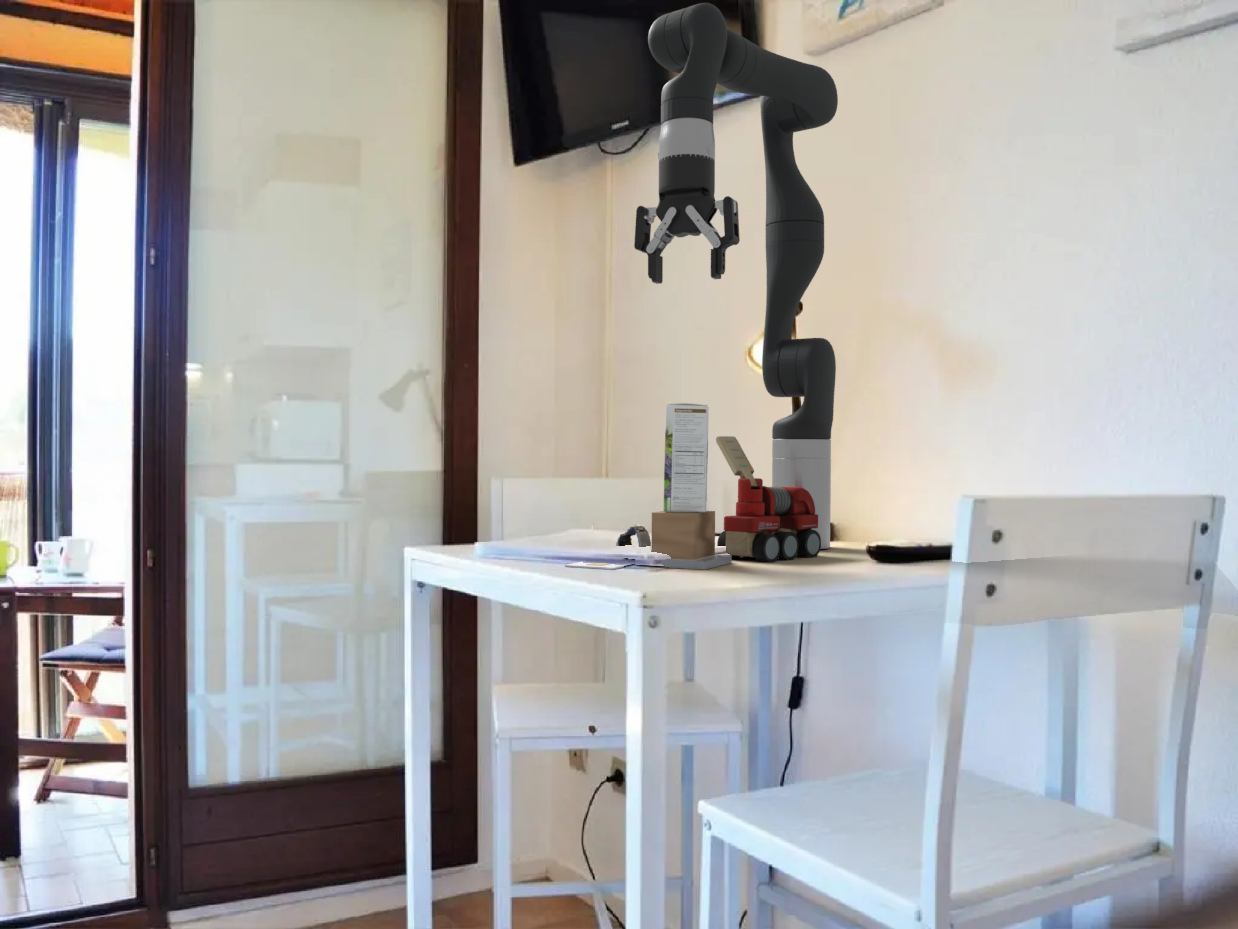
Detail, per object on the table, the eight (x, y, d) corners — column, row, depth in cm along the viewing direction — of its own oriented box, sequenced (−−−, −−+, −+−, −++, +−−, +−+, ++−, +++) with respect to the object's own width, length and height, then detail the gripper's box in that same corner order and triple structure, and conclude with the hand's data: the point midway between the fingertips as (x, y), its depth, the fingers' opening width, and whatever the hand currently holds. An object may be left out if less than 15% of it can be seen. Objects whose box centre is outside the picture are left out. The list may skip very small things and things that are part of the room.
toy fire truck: (825, 557, 154) (826, 436, 153) (759, 564, 143) (760, 434, 142) (763, 551, 162) (763, 437, 162) (696, 558, 151) (697, 435, 151)
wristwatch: (643, 568, 148) (626, 541, 151) (658, 546, 145) (640, 518, 147) (626, 572, 147) (609, 544, 149) (640, 550, 143) (623, 522, 146)
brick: (674, 552, 146) (674, 509, 146) (714, 554, 143) (715, 511, 143) (651, 557, 138) (651, 512, 138) (693, 560, 136) (694, 513, 136)
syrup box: (664, 510, 144) (665, 404, 144) (707, 510, 143) (708, 405, 143) (663, 512, 138) (664, 402, 138) (708, 513, 138) (709, 402, 138)
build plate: (664, 559, 147) (664, 551, 147) (731, 562, 143) (731, 555, 143) (634, 565, 138) (634, 557, 138) (705, 569, 134) (705, 561, 134)
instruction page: (596, 560, 145) (596, 558, 145) (642, 563, 142) (642, 561, 142) (564, 566, 137) (564, 564, 137) (612, 569, 134) (612, 567, 134)
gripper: (746, 160, 141) (745, 281, 141) (649, 172, 147) (648, 288, 147) (727, 145, 134) (726, 272, 134) (626, 158, 140) (626, 280, 140)
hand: (685, 280), depth 140 cm, fingers open, 8 cm apart
